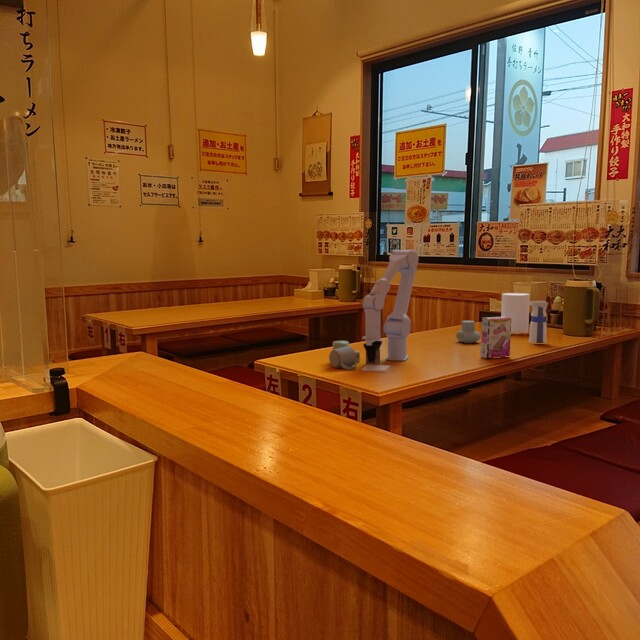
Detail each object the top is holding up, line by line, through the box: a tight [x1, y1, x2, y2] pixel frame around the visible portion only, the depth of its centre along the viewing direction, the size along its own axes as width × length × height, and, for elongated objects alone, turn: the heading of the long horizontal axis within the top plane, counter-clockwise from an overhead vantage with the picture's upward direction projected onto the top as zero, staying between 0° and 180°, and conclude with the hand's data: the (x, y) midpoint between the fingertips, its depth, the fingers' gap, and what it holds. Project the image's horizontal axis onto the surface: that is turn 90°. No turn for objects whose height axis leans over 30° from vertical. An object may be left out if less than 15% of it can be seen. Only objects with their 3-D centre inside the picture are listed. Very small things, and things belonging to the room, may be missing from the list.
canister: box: [500, 292, 531, 334], centre depth 304 cm, size 14×14×20 cm
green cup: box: [332, 340, 350, 350], centre depth 234 cm, size 6×6×8 cm
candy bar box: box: [480, 316, 512, 359], centre depth 240 cm, size 11×5×16 cm, turn 111°
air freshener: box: [455, 320, 481, 344], centre depth 277 cm, size 11×8×10 cm
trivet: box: [361, 364, 391, 373], centre depth 221 cm, size 9×9×1 cm
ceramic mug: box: [328, 345, 357, 371], centre depth 224 cm, size 11×8×8 cm
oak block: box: [354, 350, 361, 363], centre depth 236 cm, size 4×4×4 cm
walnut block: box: [365, 349, 381, 366], centre depth 229 cm, size 5×5×6 cm
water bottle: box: [528, 291, 550, 344], centre depth 272 cm, size 8×9×25 cm
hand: (372, 360), depth 230 cm, fingers closed on walnut block, 5 cm apart
